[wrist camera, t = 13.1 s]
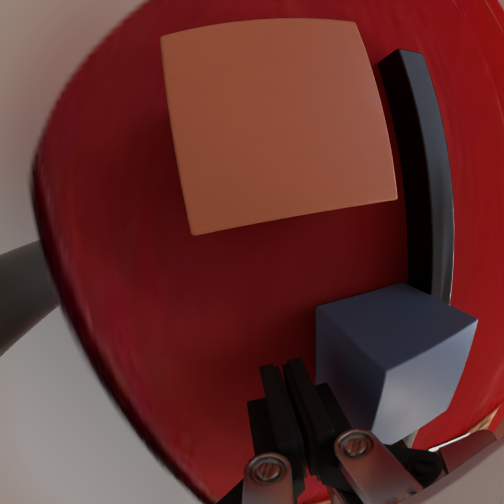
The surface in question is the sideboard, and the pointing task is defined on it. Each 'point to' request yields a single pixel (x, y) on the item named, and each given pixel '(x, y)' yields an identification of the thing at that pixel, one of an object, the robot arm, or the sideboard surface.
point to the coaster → (446, 443)
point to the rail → (422, 175)
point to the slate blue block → (392, 357)
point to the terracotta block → (274, 121)
